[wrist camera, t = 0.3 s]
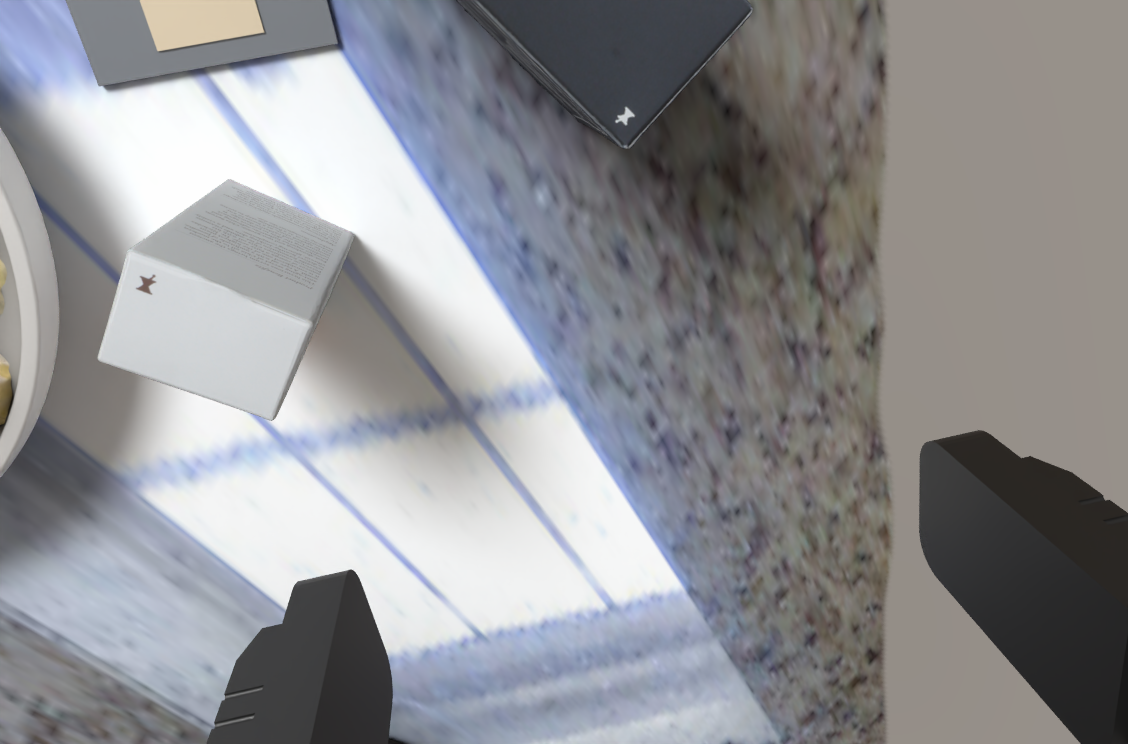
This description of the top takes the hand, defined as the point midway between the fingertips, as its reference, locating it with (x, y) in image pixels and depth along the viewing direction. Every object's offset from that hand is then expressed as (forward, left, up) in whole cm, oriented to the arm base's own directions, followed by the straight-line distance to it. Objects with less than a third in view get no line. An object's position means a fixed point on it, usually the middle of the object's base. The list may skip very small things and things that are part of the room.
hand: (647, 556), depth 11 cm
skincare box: (+1, -11, -28) cm, 31 cm away
